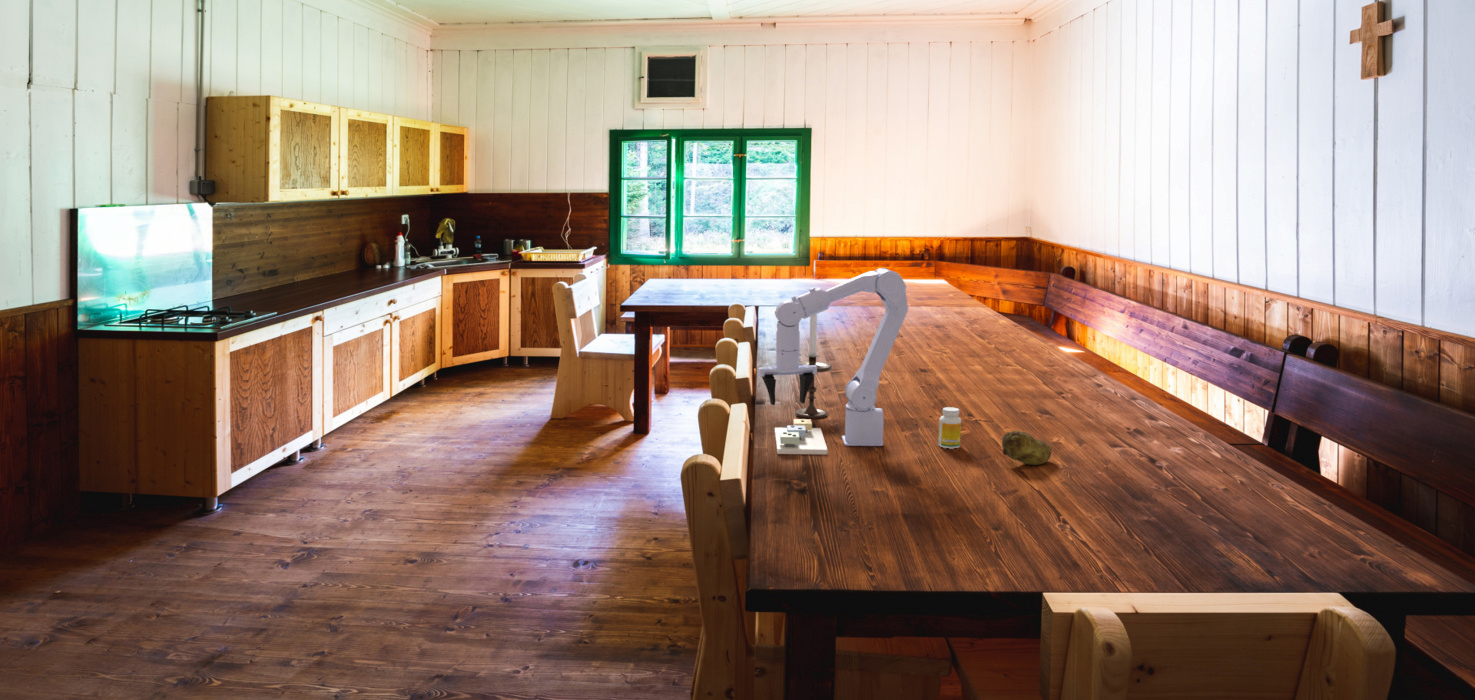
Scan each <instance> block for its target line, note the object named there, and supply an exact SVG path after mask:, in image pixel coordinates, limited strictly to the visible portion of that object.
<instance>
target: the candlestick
mask: <svg viewBox="0 0 1475 700" xmlns="http://www.w3.org/2000/svg"><path fill="white" fill-rule="evenodd" d="M817 322H818V314H815V315H813V316H810V317H809V351H808V352H809V353H808V354H806V355H805V357H807V358H808V361H799V365H815V366H817V373H825V372H830V371H832V369H833V367H832V364H830V363H828V362H822V361H817V358H819V357H820V355H818V354H817V328H818V327H817V324H818V323H817ZM815 375H816V374H813V376H814V379H813V381H812V383H811V385H810V387H809V389H808V392H807V393H808V396H806V398H807V399H808V406H807V407H804V408H803V407H802V408H798V409H795V413H794V414H795V417H797V416H798V418H800V417H802V418H801V419H806V418H812V419H811V420H816V419H817V418H818V419H817V420H819V418H820V419H824V417H825V418H827V417H828V411H827V410H825V409H822V408H816V406H815V400H816V398H817V397H816V396H815V393H816V392H817V391H818V388H817V387H816V386H815ZM826 416H827V417H826Z"/></svg>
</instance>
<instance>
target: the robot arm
mask: <svg viewBox="0 0 1475 700" xmlns="http://www.w3.org/2000/svg"><path fill="white" fill-rule="evenodd" d="M860 292H864V293H872V294H877V295H878V297H879V298H880V300H881V303H882V305H883V306H884V308H885V310H884V313H883V315H882V318H881V320H880V322H879V325H878V327H877V329H876V331H875V334H874V336H873V337H872V341H871V343H870V345H869V347H868V350H867V352H866V354H865V356H864V359H863V361H862V363H861V366H860V367H859V369H858V370H856V371H855V374H854V376H853V377H852V379H851V380H849V381H848V382H847V383H846V386H845V389H844V392H845V395H846V398H847V399H848V401H847V403H846V404H845V417H844V418H845V421H844V422H845V423H844V435H841V439H842V443H843V444H844V446H846V447H847V446H849V447H859V446H860V447H883V446H884V410H883V408H881V407H876V406H875V405H876V402H877V390H878V388H879V385H880V375H881V373H882V371H883V369H884V366H885V364H886V362H887V359H888V357H889V356H890V353H891V350H892V348H893V346H894V344H895V342H896V339H897V337H898V335H899V333H900V330H901V327H902V325H903V323H904V321H905V318H906V317H907V314H908V310H909V305H908V299H907V297H908V296H907V285H906V283H905V281H904V279H903V278H902V276H901V275H900V274H899V273H898V272H896V271H894V270H890V269H888V268H885V267H880V268H877V269H875V270H870V271H867V272H864V273H862V274H859V275H858V276H855V277H852V278H850V279H848V280H846V281H843V282H842V283H840V284H837V285H835V286H833V287H831V288H828V289H823V288H821V287H817V288H815V287H811V288H809V290H808V292H806V293H802V294H801V295H798V296H796V295H792V296H791V300H783V301H781V302H779V303H778V305H777V306H776V308H775V311H774V315H775V318H776V319H777V321H776V322H777V323H776V329H777V330H776V335H775V336H776V342H775V344H776V345H775V346H776V347H775V348H776V350H775V351H776V357H775V359H776V361H775V362H776V363H775V365H771V366H763V367H758V376H759V377H761V378H762V380H763V382H764V385H765V387H766V389H767V393H768V396H769V403H770V404H771V405H772V406H775V405H776V385H777V379H775V376H788V375H789V376H792V375H798V377H799V402H800V403H801V404H805V403H806V398H807V394H808V393H809V392H808V389H809V387H810V385H811V383H812V381H813V379H814V380H815V377H814V376H813V374H815V375H818V372H817V366H815V365H799V362H800V353H801V352H800V351H801V350H800V345H801V344H800V341H801V340H800V339H801V337H800V336H801V335H800V333H801V332H800V322H801V321H802V319H803V320H805V319H807V318H810V316H813V315H815V314H817V315H818V314H820V313H822V312H825V311H827V310H828V309H829V308H830V306H831V304H832V303H833V302H836V301H838V300H841V299H844V298H847V297H850V296H852V295H855V294H858V293H860Z"/></svg>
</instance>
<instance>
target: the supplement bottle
mask: <svg viewBox="0 0 1475 700" xmlns="http://www.w3.org/2000/svg"><path fill="white" fill-rule="evenodd" d="M941 414H942V415H940V417H939V419H938V436H937V437H938V438H937V444H938V445H939V446H940V448H941V447H943V448H942V449H946V448H949V449H948V450H955V449H954V448H957V449H959V448H960V445H961V438H962V437H961V433H962V419H961V417H960V416H959V415H960V409H959V408H957V407H953V406H952V407H950V406H947V407H946V406H945V407H942V413H941ZM938 445H937V446H938ZM939 446H938V447H939Z"/></svg>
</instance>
